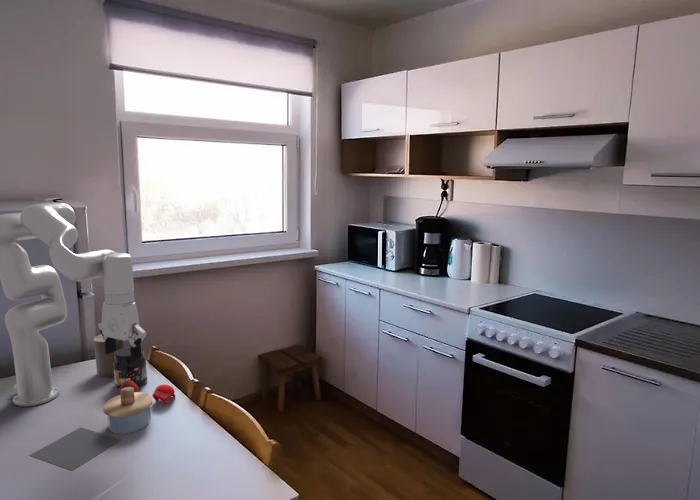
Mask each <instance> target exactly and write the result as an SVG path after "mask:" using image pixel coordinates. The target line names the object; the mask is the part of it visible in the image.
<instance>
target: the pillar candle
mask: <svg viewBox="0 0 700 500" xmlns="http://www.w3.org/2000/svg"><path fill="white" fill-rule="evenodd" d="M93 345H94V346H93V347H94V355H95V363H96V364H95V365H96V375H97V376H98V378H105V379H107V378H108V379H109V378H114V369H113V361H114V352H112V353H110V354H106V353H105V341H104V340H103V336H102V334H101V333H100V334H98V335H97V336H95V337H94V338H93ZM124 347H125V344H124V341H123V340H118V339H116V350H118V349H121V348H124Z"/></svg>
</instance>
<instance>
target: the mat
mask: <svg viewBox="0 0 700 500" xmlns="http://www.w3.org/2000/svg"><path fill="white" fill-rule="evenodd" d="M121 441H122V439H120V438H117V437H114V436H110V435H107V434H104V433H100V432H97V431H94V430H90V429H88V428H84V427H79V428H76V429H75V430H73V431H71V432H69V433H68V434H65V435H64V436H62V437H60V438H59V439H57V440H54V441H53V442H51V443H49V444H47V445H45V446H44V447H42V448H40V449H39V450H36V451H34V452H32V453H31V454H29V457H32V458H35V459H37V460H41V461H42V462H46V463H48V464H52V465H54V466H56V467H60V468H63V469H66V470H68V471H71V472H73V471H75V470H76V469H77V468H80V467H81V466H83V465H84V464H86V463H87V462H90V460H92V459H94V458H96V457H97V456H98V455H101V454H102V453H103V452H106V451H107V450H108V449H110V448H112V447H113V446H114V445H117V444H119V443H120V442H121Z"/></svg>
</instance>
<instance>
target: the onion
mask: <svg viewBox="0 0 700 500" xmlns="http://www.w3.org/2000/svg"><path fill="white" fill-rule="evenodd" d="M130 380H131V379H130V378H128V379H127V380H126V382H124V383H123V384H122V385H121V387H120V389H119V388H118V395H120V390H121V389H123V388H125V387H133V388H134V392H140V389H139V388H140V387H138V386H137V384H136V383H134V382H132V381H130Z"/></svg>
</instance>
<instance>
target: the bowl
mask: <svg viewBox="0 0 700 500" xmlns="http://www.w3.org/2000/svg"><path fill="white" fill-rule="evenodd" d="M151 420H152V413H151V406H150V407H149V408H148V409H147V410H145V411H143V412H141V413H138V414H136V415H132V416H127V417H111V416H107V426H108V428H109V430H110V431H111V432H112V433H115V434H129V433H134V432H136V431H139V430H141V429H143V428H145V427H147V426H148V424H150V422H151Z"/></svg>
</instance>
